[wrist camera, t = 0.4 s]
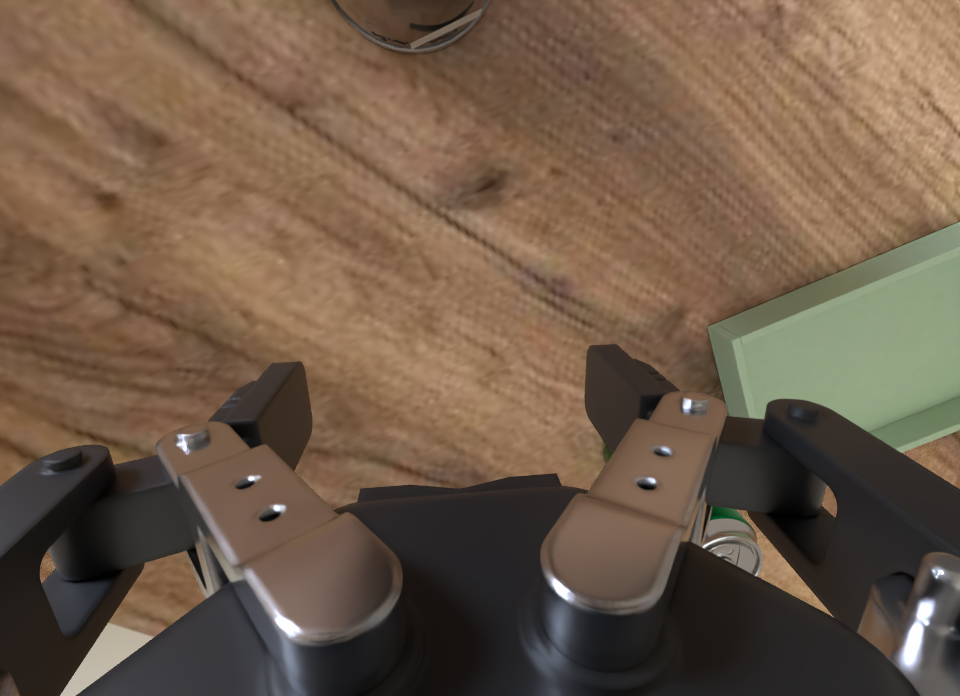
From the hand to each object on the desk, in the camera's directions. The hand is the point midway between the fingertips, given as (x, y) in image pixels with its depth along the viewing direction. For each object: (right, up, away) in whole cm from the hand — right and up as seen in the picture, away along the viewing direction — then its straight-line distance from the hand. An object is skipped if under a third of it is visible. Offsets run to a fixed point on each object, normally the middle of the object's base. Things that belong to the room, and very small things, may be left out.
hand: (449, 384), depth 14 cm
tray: (+28, 0, +22) cm, 36 cm away
